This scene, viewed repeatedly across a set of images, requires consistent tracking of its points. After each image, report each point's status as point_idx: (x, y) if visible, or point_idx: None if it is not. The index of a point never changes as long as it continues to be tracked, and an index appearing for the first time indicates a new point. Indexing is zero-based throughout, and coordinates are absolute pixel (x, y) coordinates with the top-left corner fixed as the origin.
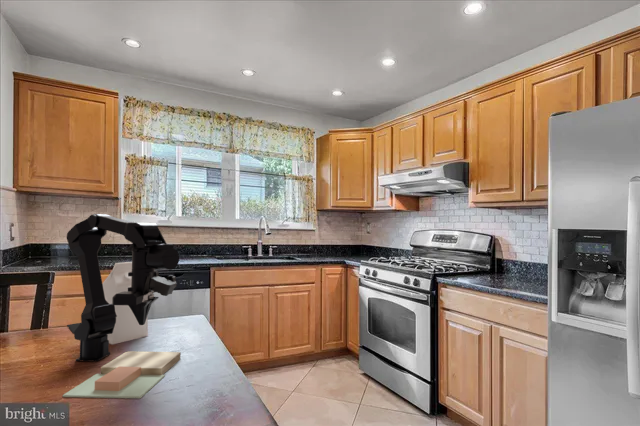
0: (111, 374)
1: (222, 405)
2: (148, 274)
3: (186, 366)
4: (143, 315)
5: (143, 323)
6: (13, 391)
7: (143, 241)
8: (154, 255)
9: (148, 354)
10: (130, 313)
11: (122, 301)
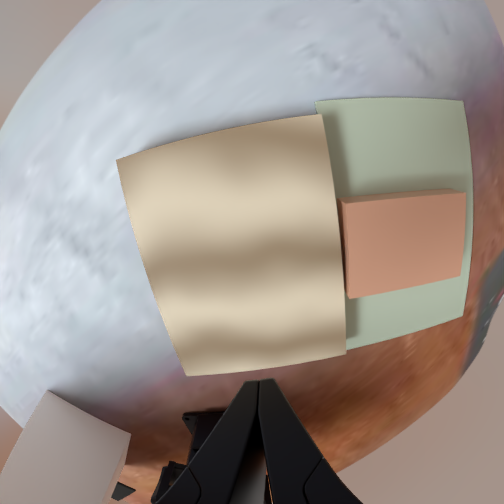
0: (418, 267)
1: None
2: None
3: (194, 79)
4: (314, 444)
5: (273, 383)
6: (418, 412)
7: None
8: None
9: (183, 284)
10: (61, 468)
11: None
